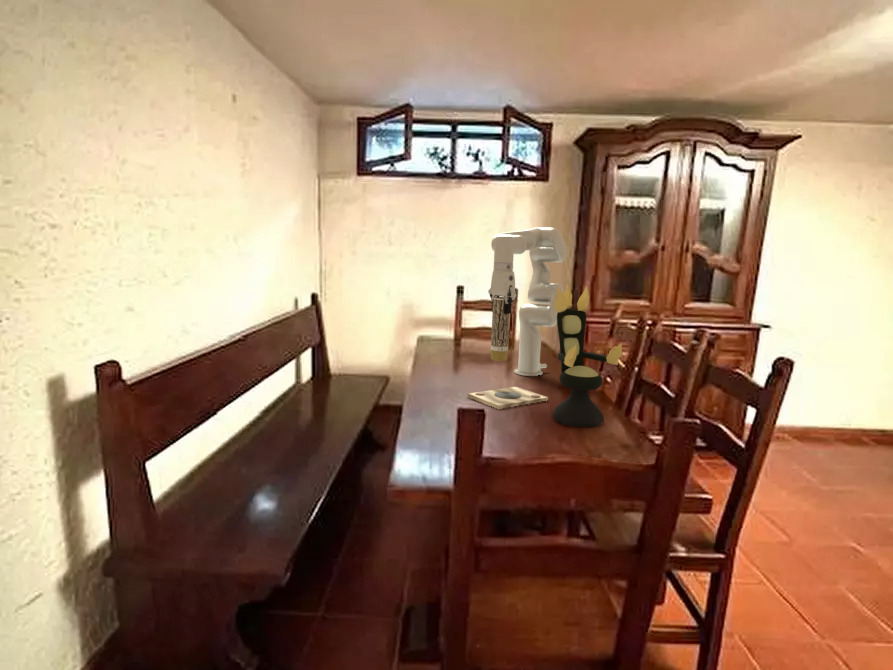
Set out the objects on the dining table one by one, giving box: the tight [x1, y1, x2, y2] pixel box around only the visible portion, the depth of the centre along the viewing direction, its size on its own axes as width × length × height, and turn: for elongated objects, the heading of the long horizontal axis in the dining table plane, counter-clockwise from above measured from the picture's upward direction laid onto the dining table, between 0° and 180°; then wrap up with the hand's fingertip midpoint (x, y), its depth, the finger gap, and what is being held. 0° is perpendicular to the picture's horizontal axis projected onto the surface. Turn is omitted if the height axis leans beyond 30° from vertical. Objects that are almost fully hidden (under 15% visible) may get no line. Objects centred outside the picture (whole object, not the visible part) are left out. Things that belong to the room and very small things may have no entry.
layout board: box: [467, 386, 549, 410], centre depth 220 cm, size 24×18×2 cm
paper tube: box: [490, 296, 511, 362], centre depth 235 cm, size 7×7×25 cm
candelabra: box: [552, 283, 623, 428], centre depth 194 cm, size 19×22×45 cm
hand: (501, 312), depth 233 cm, fingers closed on paper tube, 6 cm apart
